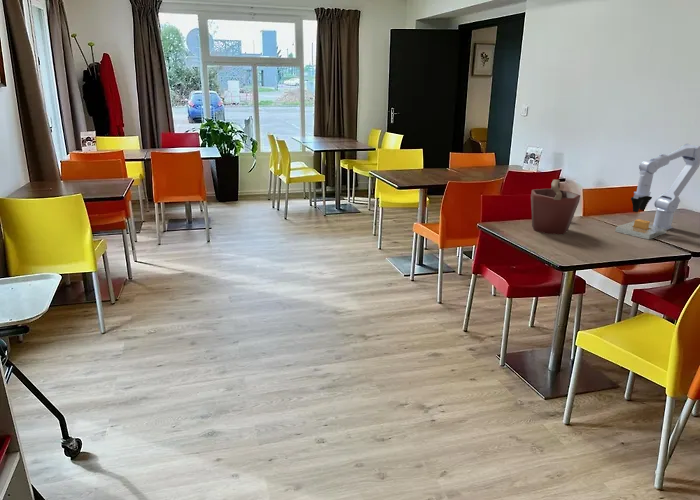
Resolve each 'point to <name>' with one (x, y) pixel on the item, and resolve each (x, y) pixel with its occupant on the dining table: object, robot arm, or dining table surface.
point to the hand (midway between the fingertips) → (638, 210)
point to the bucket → (553, 209)
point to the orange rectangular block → (641, 224)
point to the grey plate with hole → (641, 230)
